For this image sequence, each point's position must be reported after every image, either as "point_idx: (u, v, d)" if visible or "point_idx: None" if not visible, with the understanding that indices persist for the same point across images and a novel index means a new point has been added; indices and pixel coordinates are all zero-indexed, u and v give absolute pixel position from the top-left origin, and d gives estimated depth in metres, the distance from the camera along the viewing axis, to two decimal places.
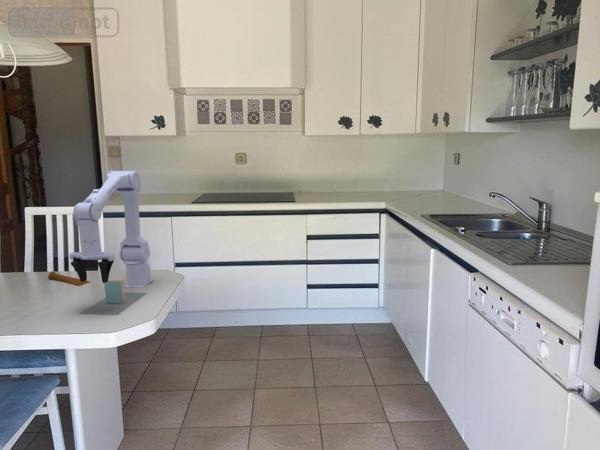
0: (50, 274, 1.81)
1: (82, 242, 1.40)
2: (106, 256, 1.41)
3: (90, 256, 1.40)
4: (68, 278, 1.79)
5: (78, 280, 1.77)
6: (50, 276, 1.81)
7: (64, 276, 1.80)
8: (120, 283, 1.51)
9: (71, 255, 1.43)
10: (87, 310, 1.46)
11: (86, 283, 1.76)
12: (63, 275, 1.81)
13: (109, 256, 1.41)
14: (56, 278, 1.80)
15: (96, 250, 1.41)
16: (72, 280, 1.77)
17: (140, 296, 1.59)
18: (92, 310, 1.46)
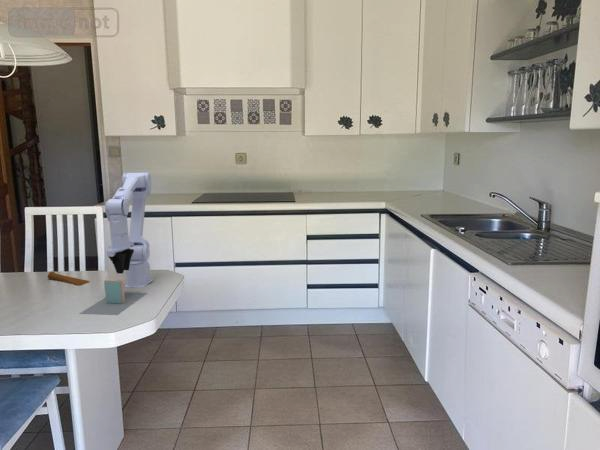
0: (49, 274, 1.81)
1: None
2: None
3: (111, 247, 1.55)
4: (68, 278, 1.79)
5: (78, 280, 1.78)
6: (49, 276, 1.81)
7: (64, 276, 1.80)
8: (120, 283, 1.51)
9: None
10: (87, 310, 1.46)
11: (85, 283, 1.76)
12: (63, 275, 1.81)
13: None
14: (56, 278, 1.80)
15: (113, 243, 1.53)
16: (72, 280, 1.77)
17: (140, 296, 1.59)
18: (92, 310, 1.46)
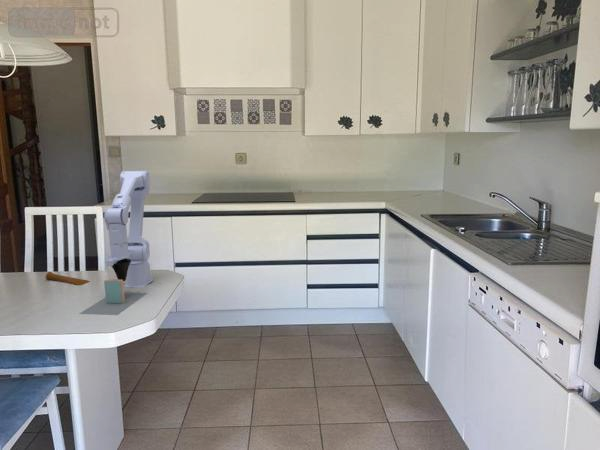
0: (47, 274, 1.81)
1: None
2: None
3: (110, 256, 1.55)
4: (67, 278, 1.79)
5: (77, 280, 1.78)
6: (48, 276, 1.81)
7: (62, 276, 1.80)
8: (120, 283, 1.51)
9: None
10: (87, 310, 1.46)
11: (86, 282, 1.77)
12: None
13: None
14: (54, 278, 1.80)
15: (112, 253, 1.53)
16: (71, 280, 1.77)
17: (140, 296, 1.59)
18: (92, 310, 1.46)
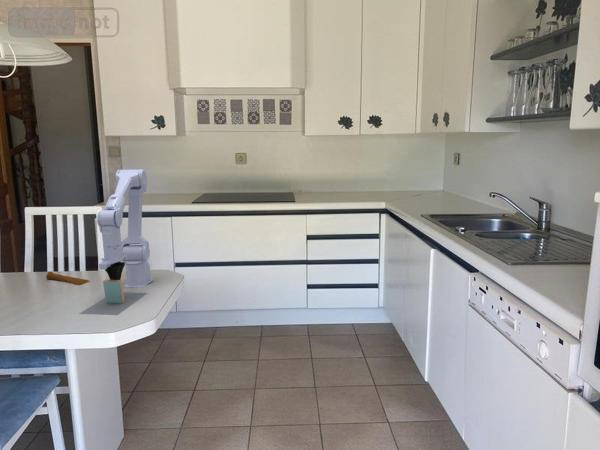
0: (48, 274, 1.81)
1: None
2: None
3: (103, 259, 1.51)
4: (67, 278, 1.79)
5: (78, 279, 1.78)
6: (48, 276, 1.81)
7: (63, 276, 1.80)
8: (119, 284, 1.50)
9: None
10: (87, 310, 1.46)
11: (86, 282, 1.77)
12: (62, 275, 1.81)
13: None
14: (55, 278, 1.80)
15: (105, 256, 1.49)
16: (72, 280, 1.77)
17: (140, 296, 1.59)
18: (92, 310, 1.46)
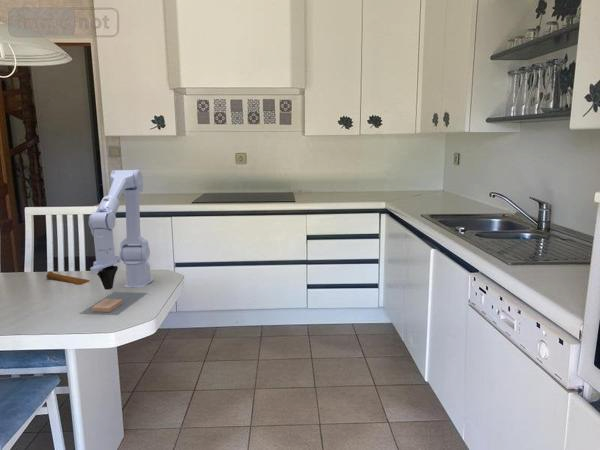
0: (48, 274, 1.82)
1: None
2: None
3: None
4: (67, 277, 1.79)
5: (78, 279, 1.79)
6: (48, 276, 1.81)
7: (63, 276, 1.81)
8: (110, 310, 1.45)
9: None
10: (87, 310, 1.46)
11: (86, 282, 1.77)
12: (62, 275, 1.82)
13: None
14: (55, 278, 1.81)
15: (97, 259, 1.44)
16: (72, 279, 1.78)
17: (140, 296, 1.59)
18: None
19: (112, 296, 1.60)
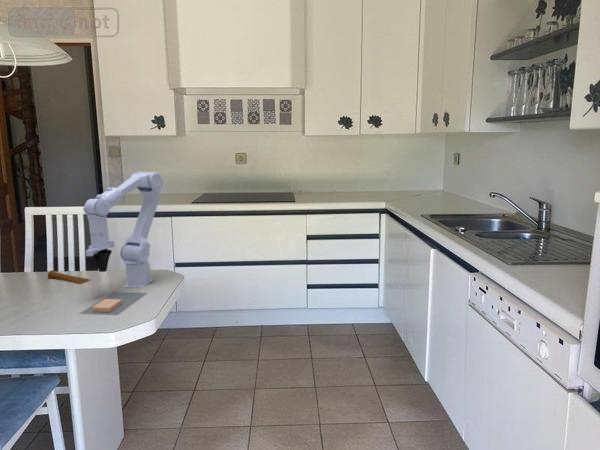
0: (49, 273, 1.83)
1: None
2: None
3: (90, 247, 1.56)
4: (68, 276, 1.81)
5: (78, 278, 1.80)
6: (49, 275, 1.83)
7: (64, 275, 1.82)
8: (110, 310, 1.45)
9: None
10: (87, 310, 1.46)
11: (87, 281, 1.78)
12: (63, 274, 1.83)
13: None
14: (56, 277, 1.82)
15: (92, 243, 1.54)
16: (72, 278, 1.79)
17: (140, 296, 1.59)
18: None
19: (112, 296, 1.60)
